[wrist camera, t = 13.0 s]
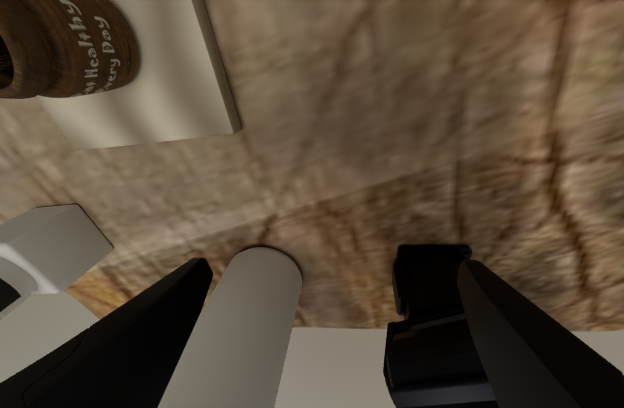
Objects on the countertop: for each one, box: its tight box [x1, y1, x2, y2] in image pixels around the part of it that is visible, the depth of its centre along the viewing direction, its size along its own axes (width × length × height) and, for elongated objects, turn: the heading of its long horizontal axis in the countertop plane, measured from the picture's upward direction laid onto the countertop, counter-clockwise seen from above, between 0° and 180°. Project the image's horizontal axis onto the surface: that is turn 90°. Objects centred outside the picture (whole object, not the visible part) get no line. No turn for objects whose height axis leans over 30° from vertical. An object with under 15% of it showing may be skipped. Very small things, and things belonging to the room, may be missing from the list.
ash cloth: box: [35, 0, 241, 151], centre depth 17 cm, size 16×14×2 cm
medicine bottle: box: [0, 204, 113, 320], centre depth 26 cm, size 7×7×12 cm
